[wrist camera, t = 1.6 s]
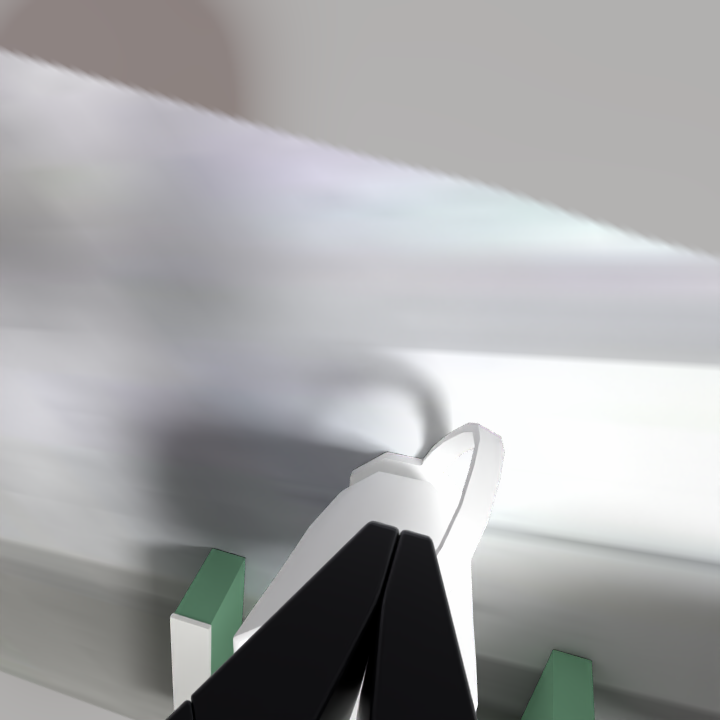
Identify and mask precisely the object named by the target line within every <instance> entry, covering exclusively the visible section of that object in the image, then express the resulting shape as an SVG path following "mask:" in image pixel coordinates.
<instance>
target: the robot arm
mask: <svg viewBox="0 0 720 720" xmlns="http://www.w3.org/2000/svg"><path fill="white" fill-rule="evenodd" d="M364 674H365V675H364ZM363 678H364V680H363ZM362 682H363V684H362ZM361 685H362V689H361V693H360V699H359V705H358V711H357V717H356V720H478V719H477V715H476V711H475V707H474V703H473V699H472V695H471V691H470V687H469V683H468V679H467V675H466V671H465V667H464V663H463V659H462V655H461V651H460V647H459V643H458V639H457V635H456V631H455V627H454V623H453V619H452V615H451V611H450V607H449V603H448V599H447V595H446V591H445V587H444V583H443V579H442V575H441V571H440V567H439V563H438V559H437V555H436V551H435V547H434V543H433V541H432V539H431V538H430V537H429V536H427V535H423V534H420V533H416V532H413V531H409V530H402V531H401V532H400V535H399V529H398V528H397V527H395V526H391V525H388V524H384V523H381V522H377V521H370V522H368V523H367V524H366V525H364V526H363V527H362V528H361V529H360V530H359V531H358V532H357V533H356V534H355V535H354V536H353V537H352V538H351V539H350V540H349V541H348V542H347V543H346V544H345V545H344V546H343V547H342V548H341V549H340V550H339V551H338V552H337V553H336V554H335V555H334V556H333V557H332V558H331V559H330V560H329V561H328V562H327V563H326V564H325V565H324V566H323V567H322V568H321V569H320V570H319V571H317V572H316V573H315V574H314V575H313V576H312V577H311V578H310V579H309V580H308V581H307V582H306V583H305V584H304V585H303V586H302V587H301V588H300V589H299V590H298V591H297V592H296V593H295V594H294V595H293V596H292V597H291V598H290V599H289V600H288V601H287V602H286V603H285V604H284V605H283V606H282V607H281V608H280V609H279V610H278V611H277V612H276V613H275V614H274V615H273V616H271V617H270V618H269V619H268V620H267V621H266V622H265V623H264V624H263V625H262V626H261V627H260V628H259V629H258V630H257V631H256V632H255V633H254V634H253V635H252V636H251V637H250V638H249V639H248V640H247V641H246V642H245V643H244V644H243V645H242V646H241V647H240V648H239V649H238V650H237V651H236V652H235V653H234V654H233V655H232V656H231V657H230V658H229V659H228V660H227V661H225V662H224V663H223V664H222V665H221V666H220V667H219V668H218V669H217V670H216V671H215V672H214V673H213V674H212V675H211V676H210V677H209V678H208V679H207V680H206V681H205V682H204V683H203V684H202V685H201V686H200V687H199V688H198V689H197V690H196V691H195V692H194V693H193V694H192V695H191V701H189V700H186V701H184V702H183V703H182V704H181V705H180V706H179V707H178V708H177V709H176V710H175V711H174V712H173V713H172V714H171V715H170V716H169V717H168V718H167V719H166V720H350V717H351V715H352V712H353V709H354V706H355V704H356V701H357V698H358V695H359V692H360V688H361Z"/></svg>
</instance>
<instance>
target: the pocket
mask: <svg viewBox="0 0 720 720" xmlns="http://www.w3.org/2000/svg"><path fill="white" fill-rule="evenodd" d="M244 575H245V558H243V557H240V556H236V555H233V554H230V553H226V552H223V551H220V550H216V549H213V548H212V550H211V552H210V553H209V555H208V557H207V558H206V560H205V562H204V564H203V565H202V567H201V569H200V570H199V572H198V574H197V575H196V577H195V579H194V581H193V582H192V584H191V586H190V587H189V589H188V591H187V592H186V594H185V596H184V598H183V599H182V601H181V603H180V604H179V606H178V608H177V610H176V611H175V613H172V615H171V616H170V628H171V652H172V676H173V700H174V711H175V710H176V709H177V708H178V707H179V706H180V705H181V704H182V703H183V702H184V701H186V700H189V701H191V695H192V694H193V693H194V692H195V691H196V690H197V689H198V688H199V687H200V686H201V685H202V684H203V683H204V682H205V681H206V680H207V679H208V678H209V677H210V676H211V675H212V674H213V673H214V672H215V671H216V670H217V669H218V668H219V667H220V666H221V665H222V664H223V663H224V662H225V661H227V660H228V659H229V658H230V657H231V656H232V655H233V654H234V647H233V637H234V635H235V634H236V632H237V631H238V630H239V628H240V627H241V625H242V615H243V595H244ZM521 720H595V717H594V697H593V677H592V661H590V660H587V659H584V658H580V657H577V656H574V655H570V654H567V653H564V652H560V651H557V650H553V651H552V653H551V656H550V658H549V660H548V662H547V664H546V666H545V669H544V671H543V673H542V675H541V677H540V679H539V682H538V684H537V686H536V688H535V690H534V692H533V694H532V697H531V699H530V701H529V703H528V705H527V707H526V710H525V712H524V714H523V716H522V718H521Z"/></svg>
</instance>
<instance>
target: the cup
mask: <svg viewBox="0 0 720 720" xmlns="http://www.w3.org/2000/svg"><path fill="white" fill-rule="evenodd" d="M473 449H474V451H473V455H472V460H471V464H470V468H469V472H468V475H467V479H466V482H465V485H464V488H463V491H462V492H461V491H460V490H459V489H458V488H457V487H456V485H455V484H454V483H453V482H452V481H451V480H450V479H449V478H448V476H447V475H446V474H445V473H444V471H445V470H446V468H447V467H448V466H449V465H450V464H451V463H452V462H453V461H455V460H456V459H457V458H458V457H460V456H461V455H462V454H464V453H466V452H468V451H470V450H473ZM504 453H505V452H504V447H503V443H502V438H501V436H499V435H497V434H496V433H494V432H492V431H490V430H489V429H487V428H485V427H483V426H482V425H480V424H477V423H467V424H465V425H463V426H461V427H459V428H457V429H456V430H454V431H452V432H451V433H449V434H447V435H446V436H445V437H444V438H442V439H441V440H440V441H439V442H438V443H437V444H436V445H434V446H433V447H432V449H431V450H430V451H429V452H428V454H427V455H426V456H425V458H424V459H419V458H414V457H410V456H405V455H400V454H395V453H391V452H386V453H384V454H382V455H380V456H379V457H377V458H375V459H373V460H371V461H369V462H368V463H366V464H364V465H362V466H360V467H358V468H356V469H355V470H353V471H352V474H351V476H350V486H349V487H348V488H346V489H344V490H342V491H341V492H340V493H339V494H338V495H337V496H336V498H335V499H334V500H333V501H332V502H331V503H330V504H329V505H328V506H327V507H326V509H325V510H324V511H323V512H322V513H321V514H320V515H319V516H318V517H317V518H316V520H315V521H314V522H313V523H312V524H311V525H310V526H309V528H308V529H307V531H306V532H305V534H304V535H303V537H302V538H301V540H300V541H299V543H298V544H297V546H296V547H295V549H294V550H293V552H292V553H291V555H290V556H289V558H288V559H287V561H286V562H285V563H284V565H283V566H282V568H281V569H280V571H279V572H278V574H277V575H276V577H275V578H274V579H273V581H272V582H271V584H270V585H269V586H268V588H267V589H266V591H265V592H264V593H263V595H262V596H261V598H260V599H259V600H258V602H257V603H256V605H255V606H254V608H253V609H252V610H251V612H250V613H249V615H248V616H247V618H246V619H245V621H244V622H243V624H242V625H241V627H240V628H239V630H238V631H237V632H236V634H235V635H234V637H233V647H234V653H235V652H236V651H237V650H238V649H239V648H240V647H241V646H242V645H243V644H244V643H245V642H246V641H247V640H248V639H249V638H250V637H251V636H252V635H253V634H254V633H255V632H256V631H257V630H258V629H259V628H260V627H261V626H262V625H263V624H264V623H265V622H266V621H267V620H268V619H269V618H270V617H271V616H273V615H274V614H275V613H276V612H277V611H278V610H279V609H280V608H281V607H282V606H283V605H284V604H285V603H286V602H287V601H288V600H289V599H290V598H291V597H292V596H293V595H294V594H295V593H296V592H297V591H298V590H299V589H300V588H301V587H302V586H303V585H304V584H305V583H306V582H307V581H308V580H309V579H310V578H311V577H312V576H313V575H314V574H315V573H316V572H317V571H319V570H320V569H321V568H322V567H323V566H324V565H325V564H326V563H327V562H328V561H329V560H330V559H331V558H332V557H333V556H334V555H335V554H336V553H337V552H338V551H339V550H340V549H341V548H342V547H343V546H344V545H345V544H346V543H347V542H348V541H349V540H350V539H351V538H352V537H353V536H354V535H355V534H356V533H357V532H358V531H359V530H360V529H361V528H362V527H363V526H364V525H366V524H367V523H368V522H370V521H377V522H381V523H384V524H388V525H391V526H395V527H397V528H398V529H399V535H400V532H401V531H402V530H409V531H413V532H416V533H420V534H423V535H427V536H429V537H430V538H431V539H432V541H433V543H434V547H435V551H436V555H437V559H438V563H439V567H440V571H441V575H442V579H443V583H444V587H445V591H446V595H447V599H448V603H449V607H450V611H451V615H452V619H453V623H454V627H455V631H456V635H457V639H458V643H459V647H460V651H461V655H462V659H463V663H464V667H465V671H466V675H467V679H468V683H469V687H470V691H471V695H472V699H473V703H474V707H475V711H476V710H477V706H478V695H477V673H476V654H475V640H474V625H473V601H472V575H471V559H472V557H473V554H474V552H475V550H476V548H477V545H478V543H479V541H480V539H481V537H482V534H483V532H484V530H485V528H486V525H487V523H488V521H489V518H490V514H491V511H492V507H493V503H494V500H495V496H496V492H497V489H498V485H499V482H500V477H501V471H502V465H503V459H504ZM364 675H365V674H364ZM363 680H364V678H363ZM362 684H363V682H362ZM361 689H362V685H361V688H360V692H359V695H358V698H357V701H356V704H355V706H354V709H353V712H352V715H351V717H350V720H356V717H357V711H358V705H359V699H360V693H361Z"/></svg>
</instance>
